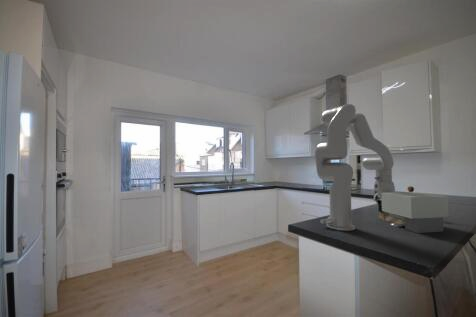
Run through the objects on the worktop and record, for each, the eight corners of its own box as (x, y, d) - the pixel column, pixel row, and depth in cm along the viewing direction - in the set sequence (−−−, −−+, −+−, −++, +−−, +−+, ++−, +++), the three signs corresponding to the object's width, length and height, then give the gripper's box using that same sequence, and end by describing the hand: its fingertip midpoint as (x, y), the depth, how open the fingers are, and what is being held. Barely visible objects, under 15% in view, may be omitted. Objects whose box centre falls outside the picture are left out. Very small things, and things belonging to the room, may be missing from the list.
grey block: (411, 233, 95) (411, 197, 95) (381, 223, 111) (380, 192, 111) (448, 231, 98) (447, 196, 98) (413, 221, 114) (413, 191, 115)
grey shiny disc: (388, 223, 110) (388, 222, 110) (400, 224, 108) (400, 223, 108) (392, 226, 105) (392, 224, 105) (404, 227, 103) (404, 225, 104)
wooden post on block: (379, 219, 119) (378, 197, 120) (384, 218, 120) (383, 197, 120) (406, 226, 104) (405, 202, 104) (411, 226, 104) (410, 202, 105)
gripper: (376, 179, 114) (376, 213, 113) (402, 179, 116) (403, 213, 116) (365, 178, 121) (366, 210, 120) (390, 178, 124) (391, 210, 123)
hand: (384, 211), depth 118 cm, fingers closed on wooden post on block, 3 cm apart
